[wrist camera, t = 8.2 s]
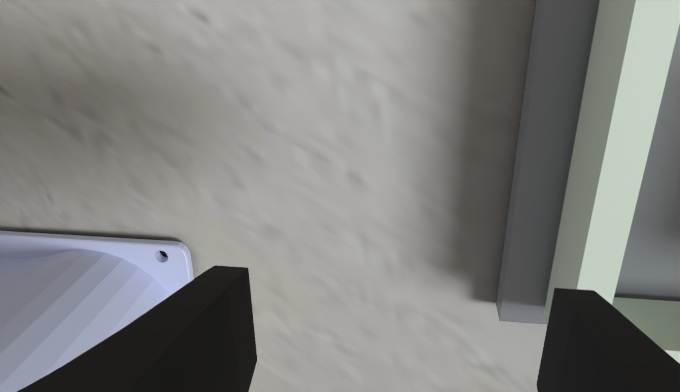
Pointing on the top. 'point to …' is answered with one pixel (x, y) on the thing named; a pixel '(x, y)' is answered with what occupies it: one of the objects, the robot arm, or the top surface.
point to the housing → (616, 159)
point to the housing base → (554, 164)
